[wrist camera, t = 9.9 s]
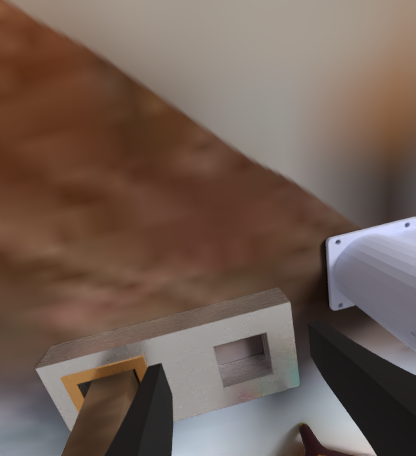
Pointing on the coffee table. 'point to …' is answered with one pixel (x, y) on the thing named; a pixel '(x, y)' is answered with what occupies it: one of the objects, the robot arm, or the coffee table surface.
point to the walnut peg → (102, 414)
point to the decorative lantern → (314, 444)
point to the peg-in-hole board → (184, 356)
